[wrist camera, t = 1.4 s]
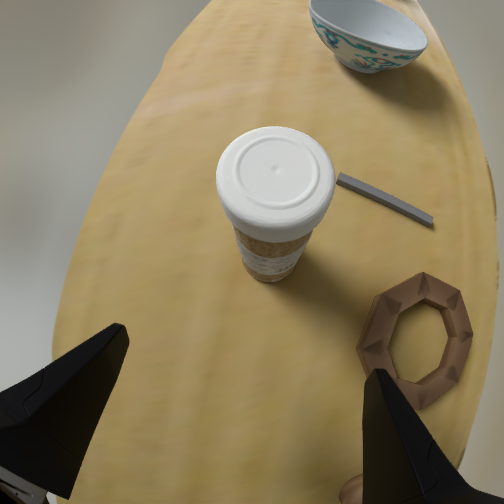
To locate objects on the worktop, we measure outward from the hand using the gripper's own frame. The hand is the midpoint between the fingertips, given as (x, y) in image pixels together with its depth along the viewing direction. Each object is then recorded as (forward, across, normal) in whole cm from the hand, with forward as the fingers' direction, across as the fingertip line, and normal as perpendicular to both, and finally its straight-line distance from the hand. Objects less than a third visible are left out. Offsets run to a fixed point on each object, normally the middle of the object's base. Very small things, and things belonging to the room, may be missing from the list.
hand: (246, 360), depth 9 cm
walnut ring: (+10, -14, +8) cm, 19 cm away
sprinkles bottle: (+14, 0, +4) cm, 15 cm away
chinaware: (+34, -8, -16) cm, 39 cm away
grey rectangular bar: (+19, -10, 0) cm, 21 cm away
